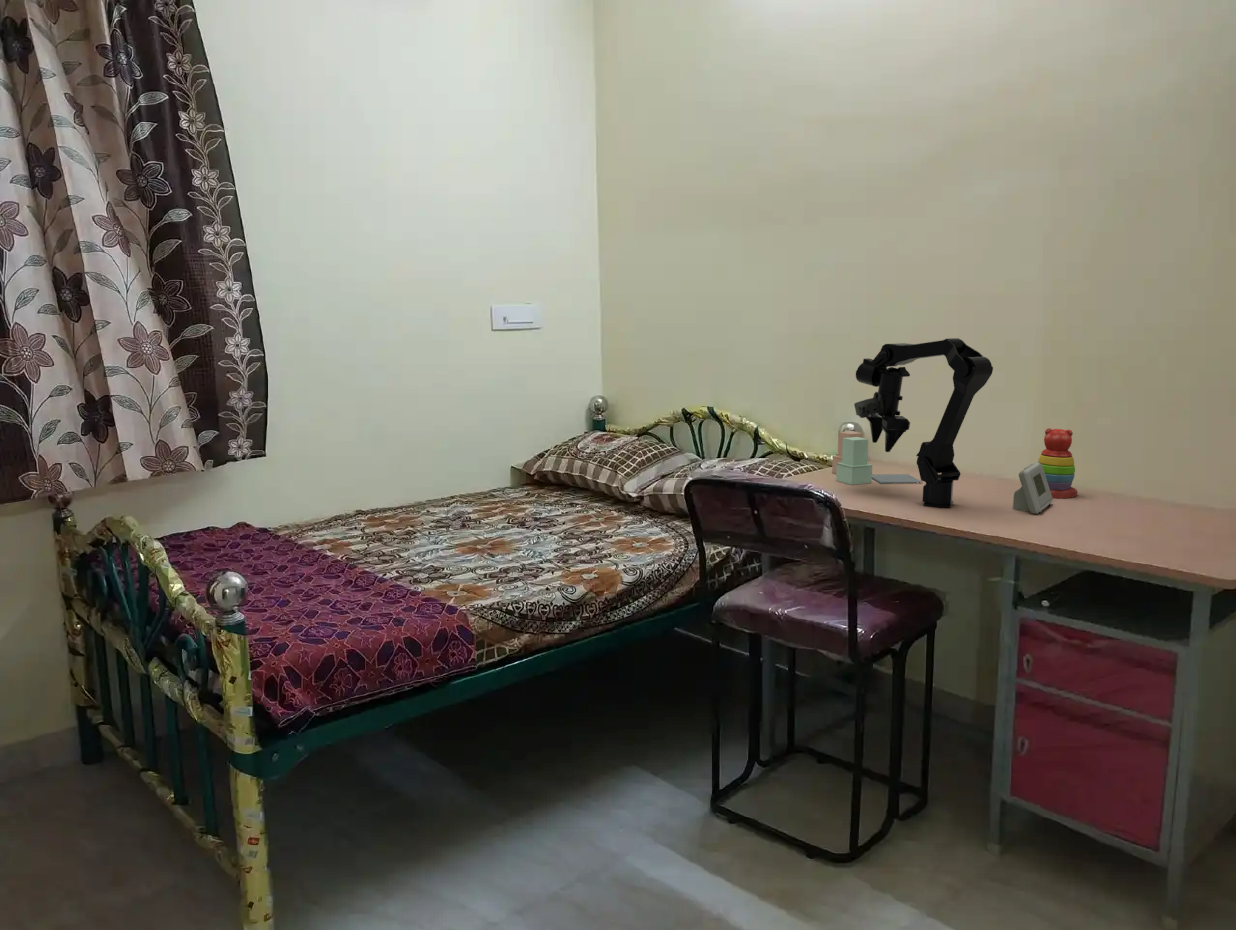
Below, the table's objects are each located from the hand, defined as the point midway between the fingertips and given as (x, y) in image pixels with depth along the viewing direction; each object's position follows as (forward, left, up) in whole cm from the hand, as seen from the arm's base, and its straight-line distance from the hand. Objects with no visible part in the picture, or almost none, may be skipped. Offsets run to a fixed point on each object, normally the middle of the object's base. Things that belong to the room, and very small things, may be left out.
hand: (880, 447), depth 252 cm
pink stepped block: (+13, -23, -12) cm, 29 cm away
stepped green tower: (+9, -11, -12) cm, 19 cm away
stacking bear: (-43, -15, -12) cm, 47 cm away
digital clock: (-39, +5, -12) cm, 41 cm away
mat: (-1, -19, -12) cm, 22 cm away
